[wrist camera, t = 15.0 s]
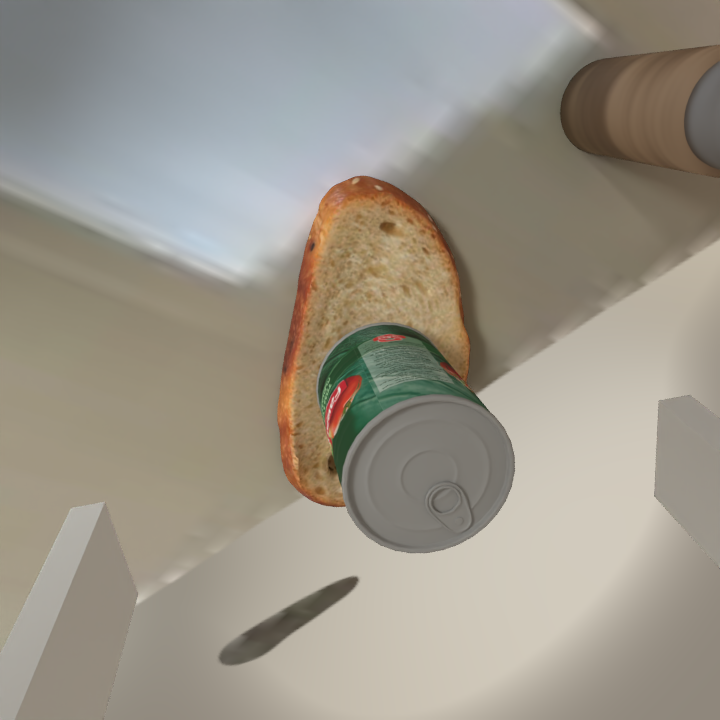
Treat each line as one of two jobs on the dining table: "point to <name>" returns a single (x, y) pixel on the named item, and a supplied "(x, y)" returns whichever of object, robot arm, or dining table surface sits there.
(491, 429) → the canned tomato
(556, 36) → the dining table surface
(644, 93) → the walnut pepper mill
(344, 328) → the bread slice
